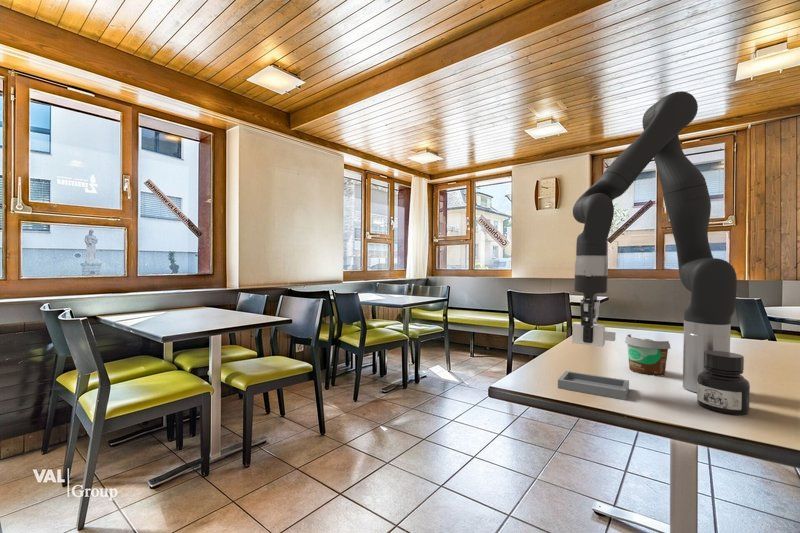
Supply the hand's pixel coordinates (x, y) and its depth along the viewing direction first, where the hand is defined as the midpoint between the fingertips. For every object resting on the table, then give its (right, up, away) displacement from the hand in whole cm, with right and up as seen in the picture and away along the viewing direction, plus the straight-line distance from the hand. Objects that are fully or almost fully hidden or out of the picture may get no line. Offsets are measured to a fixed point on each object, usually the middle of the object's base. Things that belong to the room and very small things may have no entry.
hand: (589, 340), depth 99 cm
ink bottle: (+23, -13, -13) cm, 29 cm away
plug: (+1, -1, -1) cm, 1 cm away
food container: (+23, -12, +15) cm, 30 cm away
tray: (+1, -12, -1) cm, 12 cm away
